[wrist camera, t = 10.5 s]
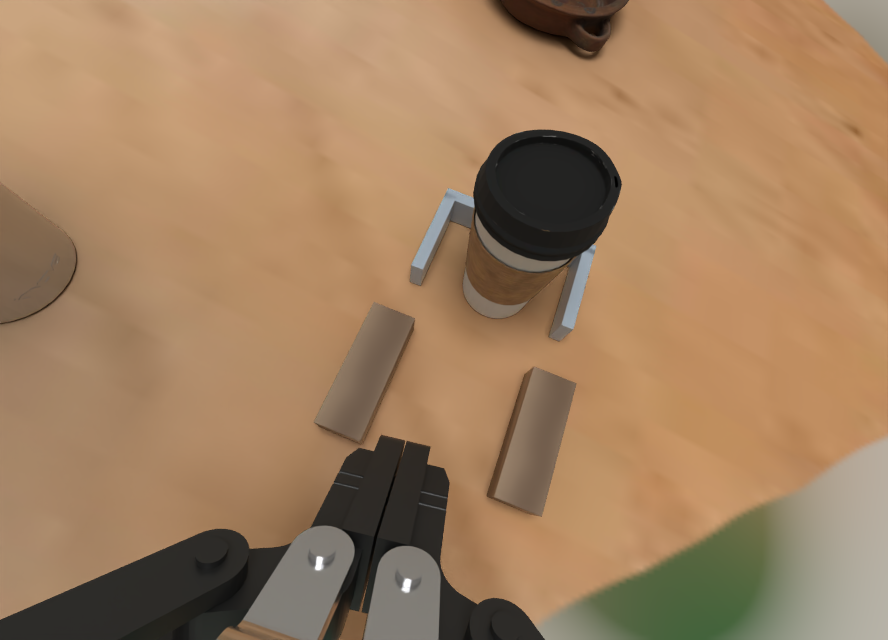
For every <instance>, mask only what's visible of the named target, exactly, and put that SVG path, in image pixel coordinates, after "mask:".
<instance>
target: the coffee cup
mask: <svg viewBox="0 0 888 640" xmlns="http://www.w3.org/2000/svg"><path fill="white" fill-rule="evenodd" d="M621 185H622V184H621V179H620V176H619V174H618V172H617V170H616V168H615V166H614V164H613V162H612V161H611V159H610V158H609V157H608V155H607V154H606V153H605V152H604V151H603V150H602V149H601V148H600V147H599V146H597V145H596V144H594V143H592V142H591V141H589V140H587V139H585V138H582V137H580V136H577V135H574V134H570V133H567V132H562V131H555V130H530V131H524V132H520V133H516V134H513V135H511V136H509V137H507V138H505V139H504V140H502V141H501V142H500V143H498V144H497V145H496V147H495V148H494V149H493V150H492V151H491V153H490V155H489V157H488V159H487V160H486V161H485V162H484V164H483V165H482V166H481V168H480V170H479V172H478V174H477V178H476V182H475V187H474V192H473V196H474V210H473V215H472V222H471V230H470V237H469V244H468V251H467V259H466V268H465V273H464V279H463V292H464V296H465V298H466V300H467V302H468V303H469V304H470V306H471V307H472V308H473V309H474V310H475V311H477V312H478V313H480V314H482V315H484V316H487V317H490V318H500V319H501V318H507V317H510V316H512V315H514V314H516V313H517V312H518V311H520V310H521V309H522V308H523V307H524V306H525V304H526V303H527V302H528V301H529V300H530V299H532V298H533V297H534V296H535V295H536V294H537V293H538V292H540V291H541V290H542V289H543V288H544V287H545V286H546V285H547V284H548V283H549V282H550V281H551V280H552V279H554V278H555V277H556V276H557V275H558V274H559V273H560V272H561V271H562V270H563V269H564V268H565V267H567V266H568V265H569V264H570V263H571V262H572V261H573V260H574V259H575V258H576V256H578V255H580V254H582V253H583V252H585V251H586V250H588V249H589V248H590V247H591V246H592V245H593V244H594V243H595V242H596V240H597V239H598V237H599V236H600V235H601V234H602V232H603V231H604V229H605V227H606V226H607V223H608V219H609V216H610V214H611V213H612V211H613V209H614V207H615V205H616V203H617V200H618V197H619V194H620V190H621Z"/></svg>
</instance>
